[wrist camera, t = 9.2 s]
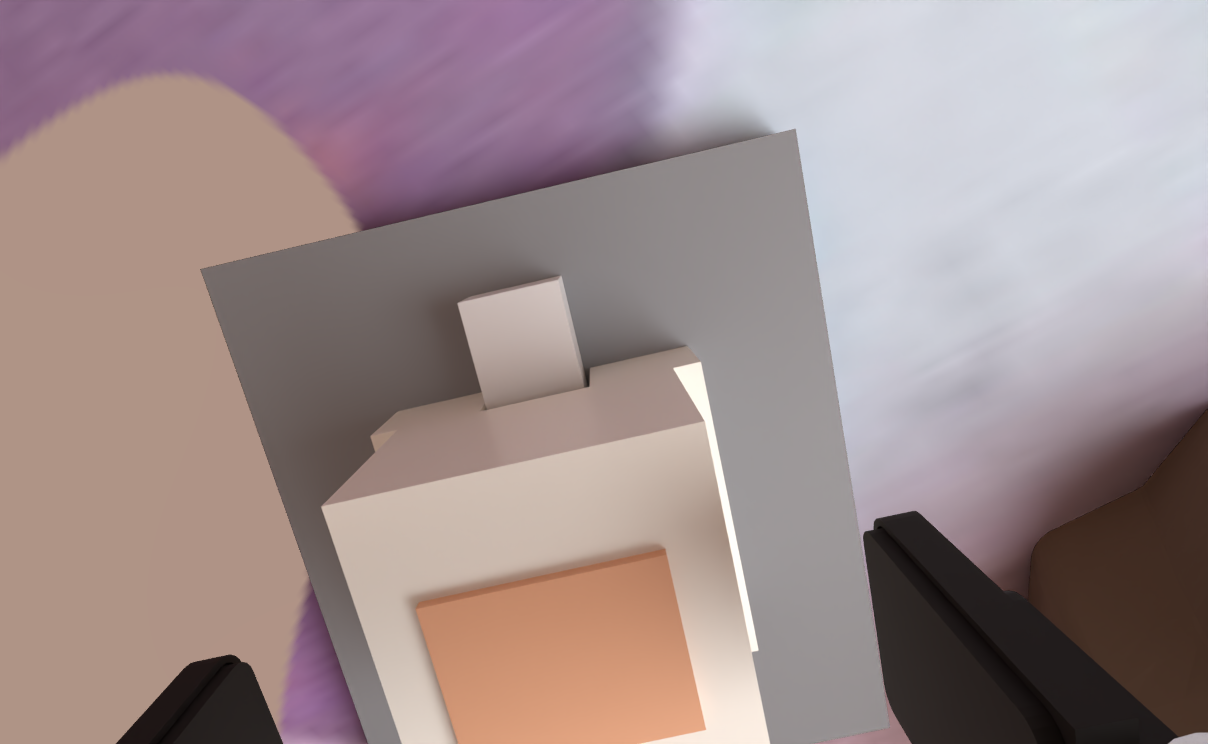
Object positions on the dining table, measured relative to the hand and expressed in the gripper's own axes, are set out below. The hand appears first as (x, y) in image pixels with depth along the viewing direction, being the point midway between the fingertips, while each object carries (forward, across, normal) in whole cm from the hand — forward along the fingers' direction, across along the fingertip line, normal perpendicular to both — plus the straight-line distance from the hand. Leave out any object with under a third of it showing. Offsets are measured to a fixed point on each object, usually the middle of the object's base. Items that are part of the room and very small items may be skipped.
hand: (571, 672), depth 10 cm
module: (+7, 0, +1) cm, 7 cm away
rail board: (+8, 0, +1) cm, 8 cm away
